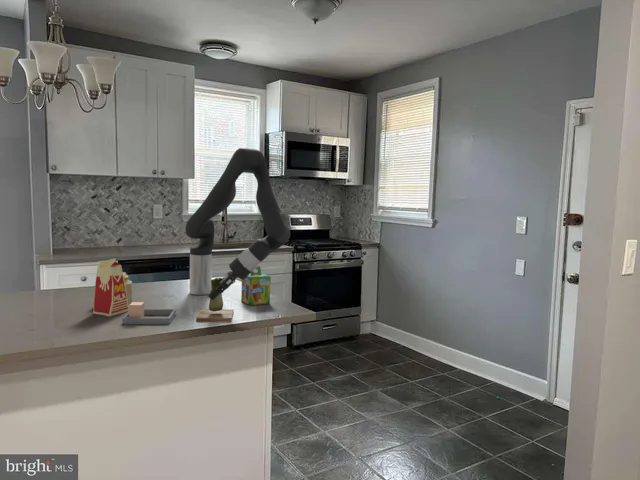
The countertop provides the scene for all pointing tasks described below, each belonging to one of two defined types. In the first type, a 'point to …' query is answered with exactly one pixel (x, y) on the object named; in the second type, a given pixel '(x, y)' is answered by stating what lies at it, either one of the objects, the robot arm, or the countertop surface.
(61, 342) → the countertop surface
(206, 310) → the board
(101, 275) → the milk carton
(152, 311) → the grey tray
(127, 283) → the sugar bowl
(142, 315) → the pink rectangular block
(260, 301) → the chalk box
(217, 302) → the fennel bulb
